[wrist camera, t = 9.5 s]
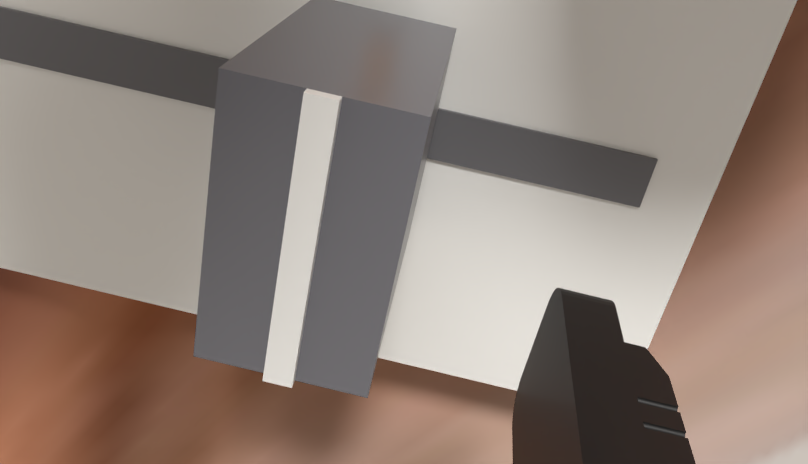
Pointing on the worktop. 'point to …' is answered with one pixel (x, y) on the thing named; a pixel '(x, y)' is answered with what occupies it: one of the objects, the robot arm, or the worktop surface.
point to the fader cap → (316, 191)
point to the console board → (445, 166)
